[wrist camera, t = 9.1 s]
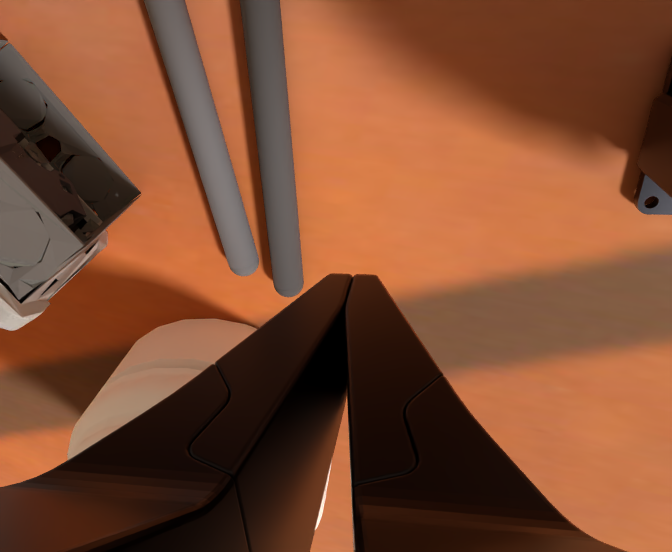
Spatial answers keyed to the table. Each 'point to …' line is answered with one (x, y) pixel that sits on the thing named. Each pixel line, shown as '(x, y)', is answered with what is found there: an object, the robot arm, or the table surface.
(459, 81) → the table surface
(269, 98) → the cord
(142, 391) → the honey pot
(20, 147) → the electrical switch
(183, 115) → the cord
